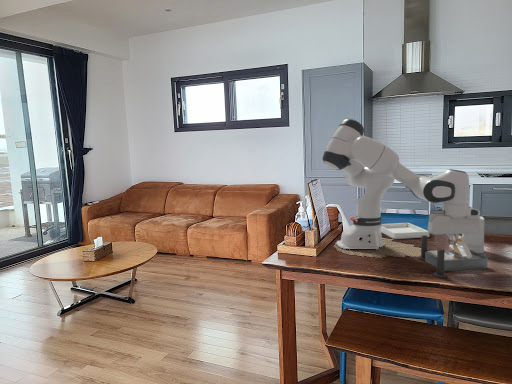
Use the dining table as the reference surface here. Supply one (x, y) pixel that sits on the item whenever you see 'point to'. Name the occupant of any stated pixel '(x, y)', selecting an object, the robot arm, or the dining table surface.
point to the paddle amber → (456, 246)
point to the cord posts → (440, 257)
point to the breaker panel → (458, 260)
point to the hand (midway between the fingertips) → (452, 244)
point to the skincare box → (475, 239)
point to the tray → (403, 230)
